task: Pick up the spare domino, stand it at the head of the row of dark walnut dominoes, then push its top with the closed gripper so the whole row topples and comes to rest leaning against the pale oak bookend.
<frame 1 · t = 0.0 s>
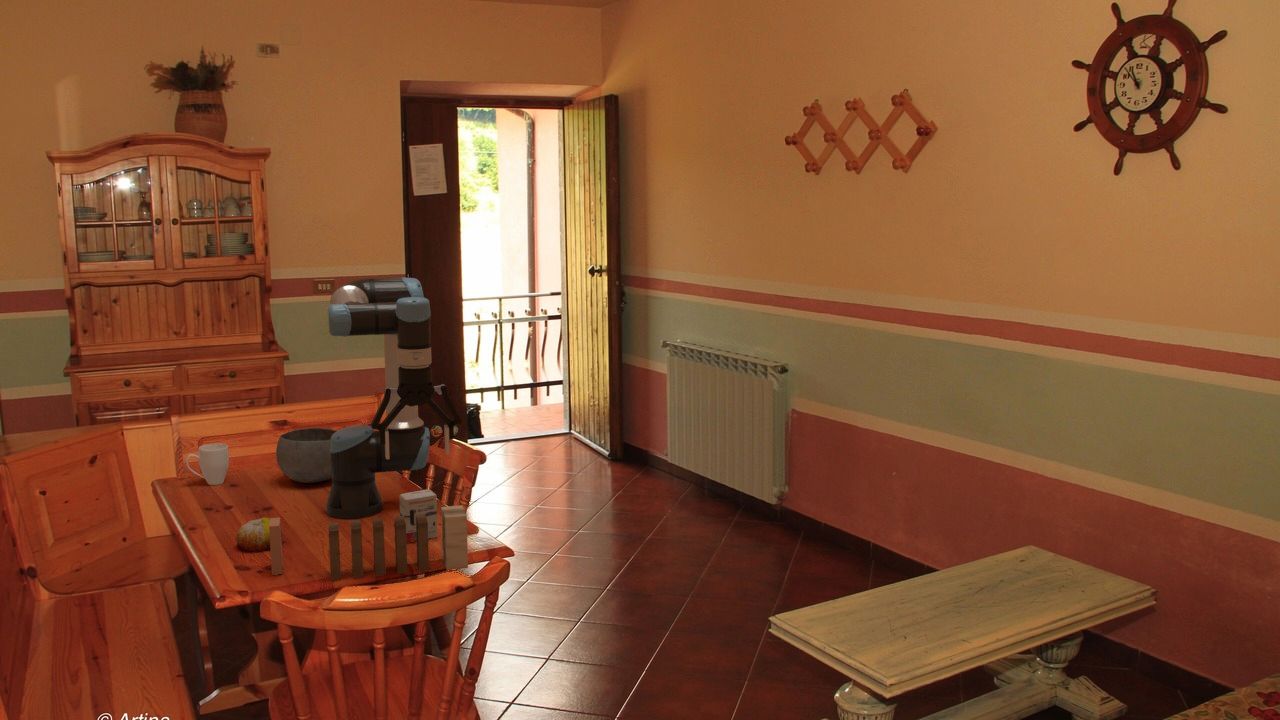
hand: (417, 455, 230), 28 cm above the table, fingers open, 13 cm apart
ink box: (419, 538, 256), on the table
bowl: (313, 481, 303), on the table
domino 5: (423, 566, 237), on the table
domino 3: (379, 570, 234), on the table
mug: (209, 484, 299), on the table
domino 2: (357, 573, 232), on the table
spare domino: (277, 570, 233), on the table
domino 4: (401, 568, 235), on the table
domino 1: (335, 575, 231), on the table
fruit: (259, 546, 250), on the table
bookend block: (455, 562, 239), on the table
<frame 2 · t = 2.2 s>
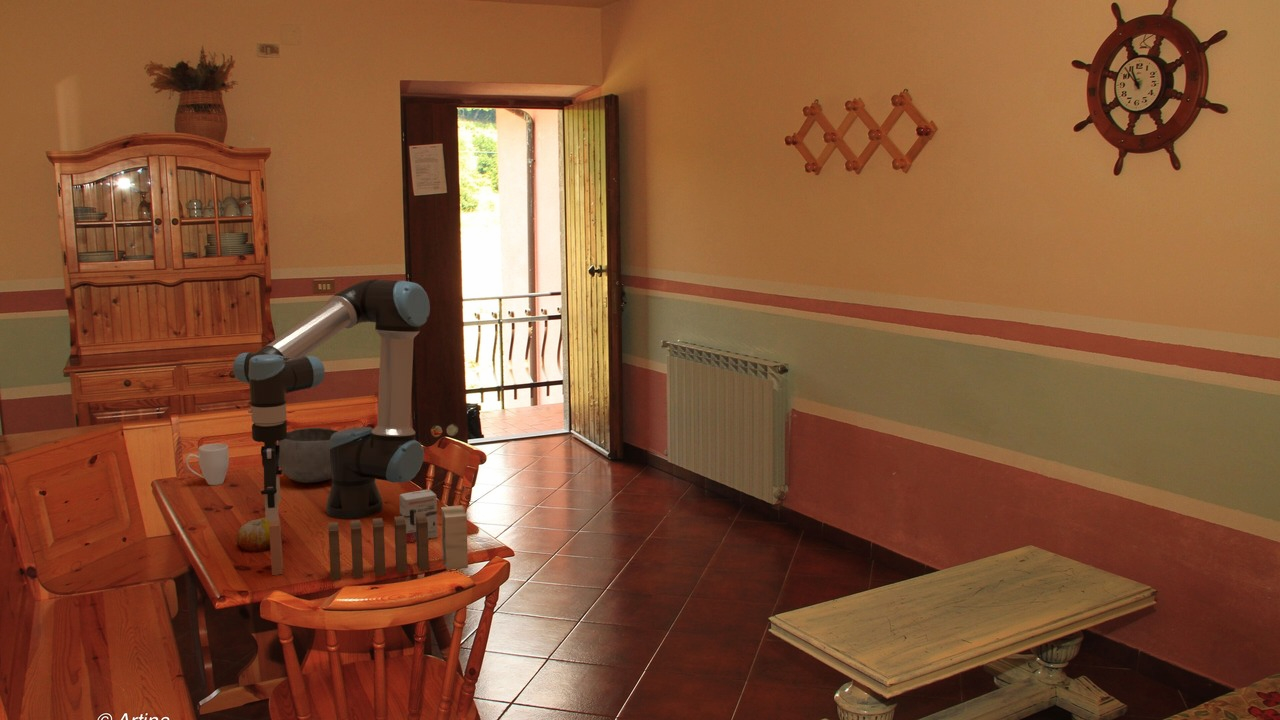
hand: (273, 511, 231), 15 cm above the table, fingers open, 13 cm apart
nothing on the table moved.
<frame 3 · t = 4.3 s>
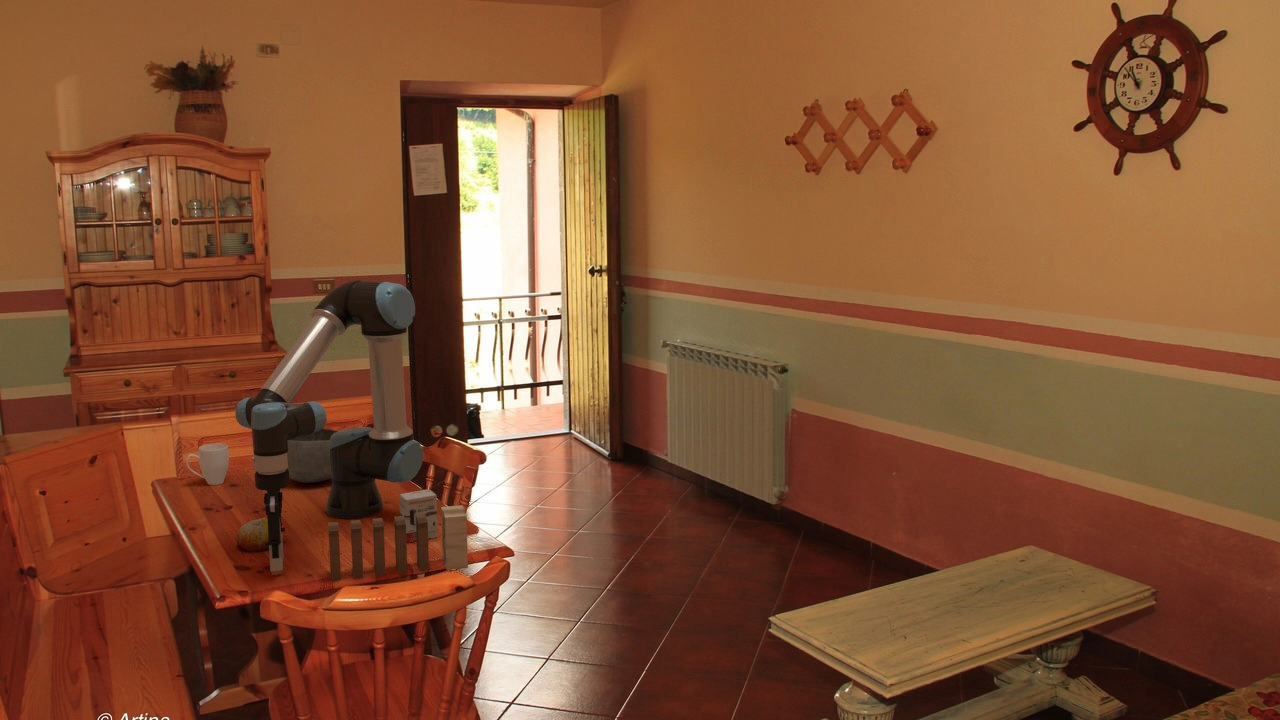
hand: (277, 564, 233), 1 cm above the table, fingers closed on spare domino, 6 cm apart
spare domino: (277, 570, 233), on the table, touching gripper
everything else where it was.
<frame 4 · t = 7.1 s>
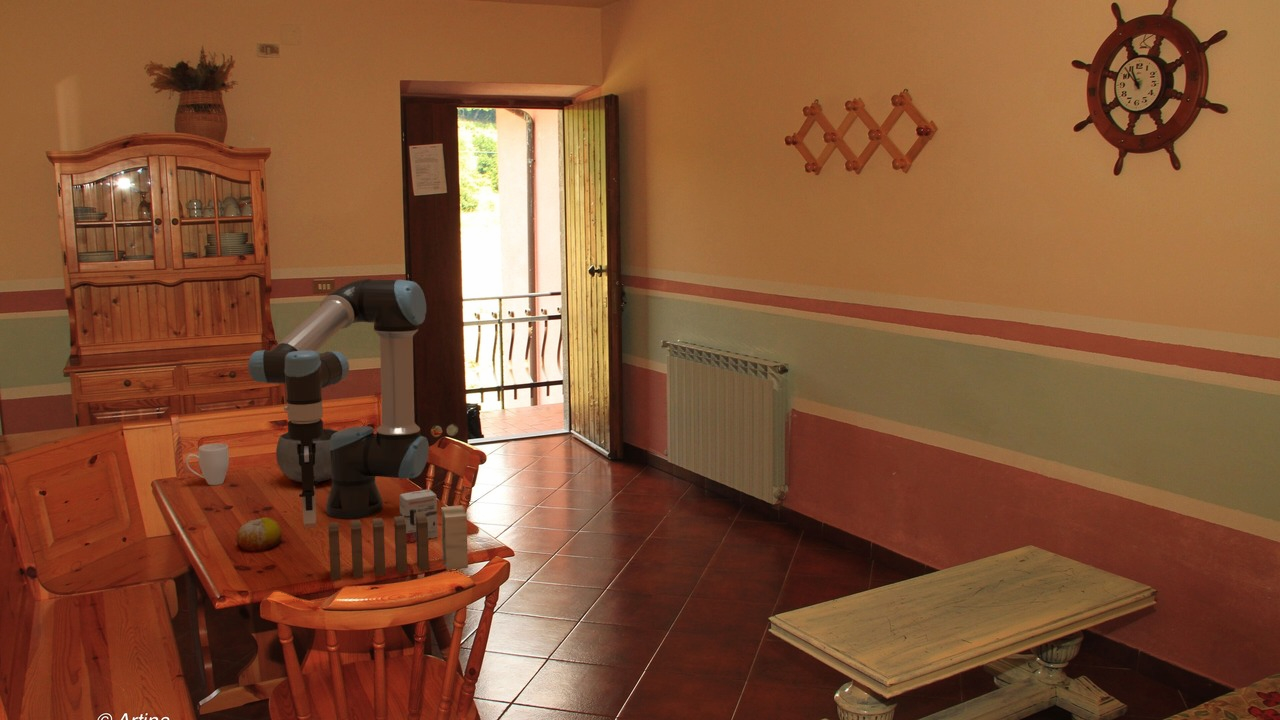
hand: (309, 518, 227), 14 cm above the table, fingers closed on spare domino, 6 cm apart
spare domino: (310, 524, 227), point 13 cm above the table, touching gripper
everything else where it was.
when the fingers open (2 cm above the table, at t = 9.8 s): spare domino stays where it is, on the table.
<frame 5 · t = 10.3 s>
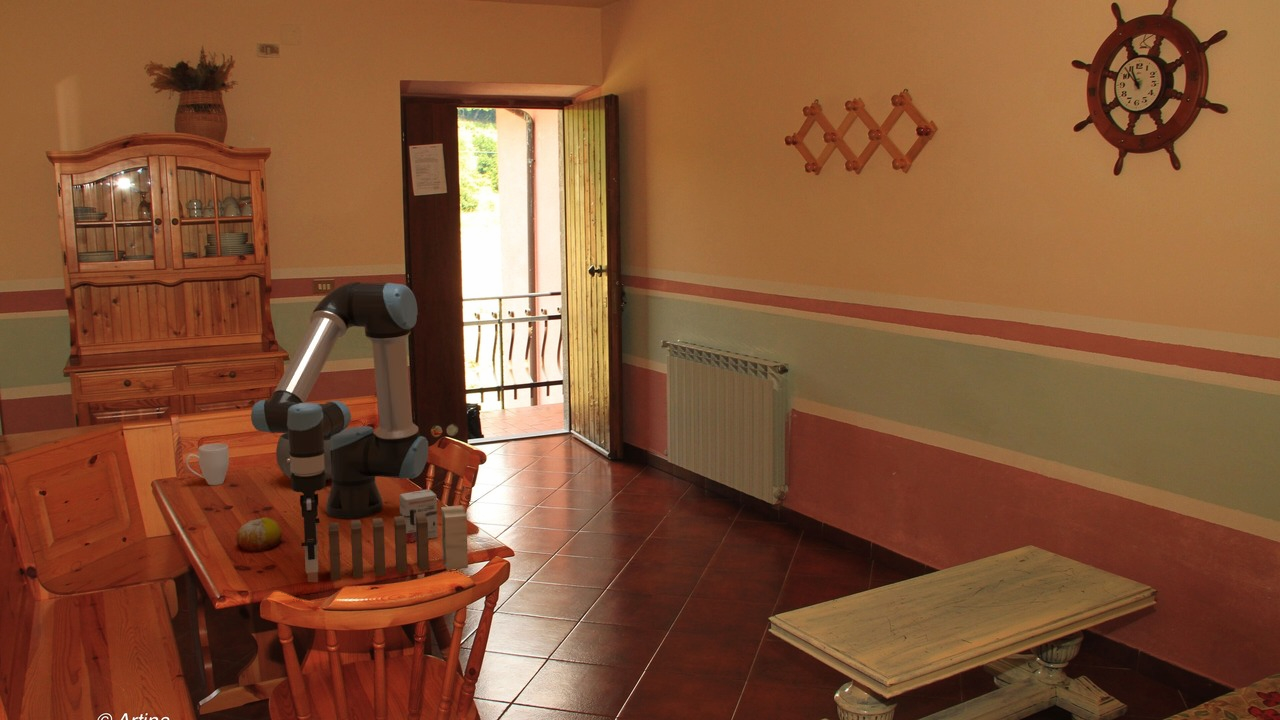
hand: (312, 561, 228), 4 cm above the table, fingers open, 12 cm apart
spare domino: (313, 577, 229), on the table
everything else where it was.
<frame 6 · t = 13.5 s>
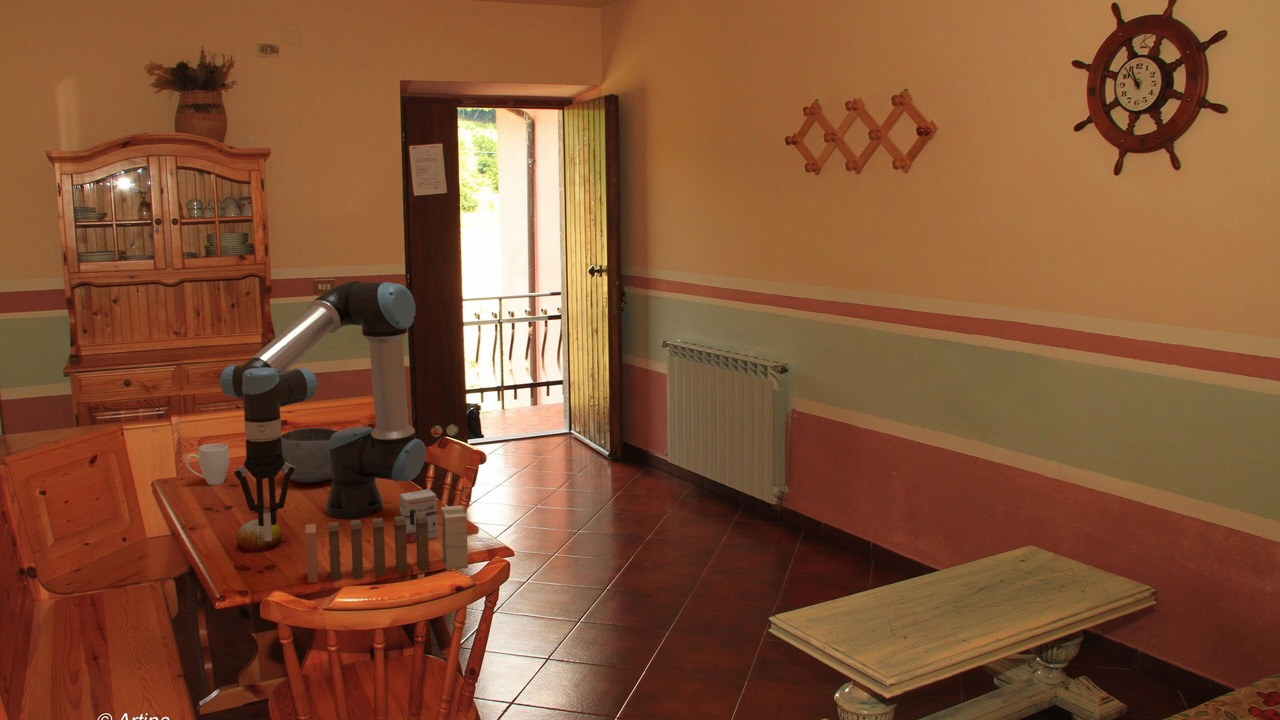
hand: (268, 538, 224), 11 cm above the table, fingers closed
nothing on the table moved.
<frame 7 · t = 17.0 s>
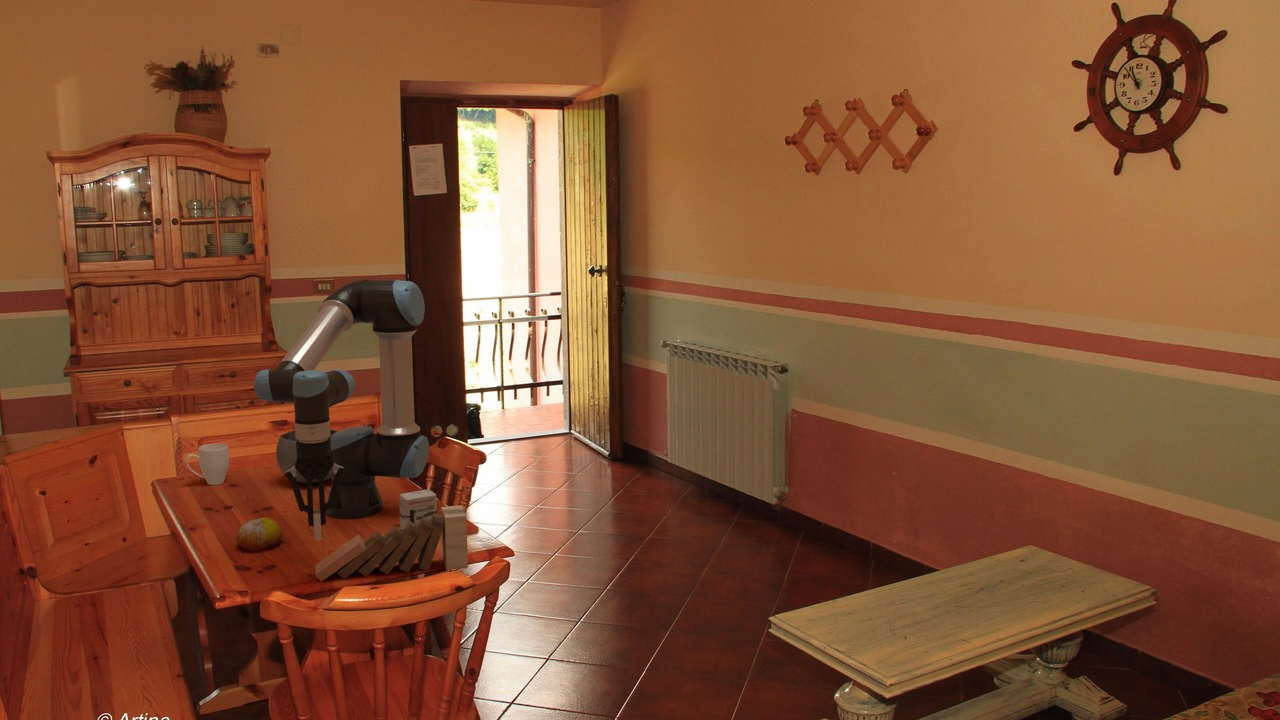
hand: (318, 538, 228), 9 cm above the table, fingers closed
domino 5: (423, 564, 237), on the table, tilted 20°, touching bookend block, domino 4
domino 3: (382, 567, 234), point 1 cm above the table, tilted 40°, touching domino 2, domino 4
domino 2: (361, 569, 232), point 1 cm above the table, tilted 47°, touching domino 1, domino 3
spare domino: (318, 573, 229), point 1 cm above the table, tilted 56°, touching domino 1
domino 4: (402, 566, 235), point 1 cm above the table, tilted 31°, touching domino 3, domino 5
domino 1: (340, 571, 231), point 1 cm above the table, tilted 52°, touching domino 2, spare domino
everything else where it was.
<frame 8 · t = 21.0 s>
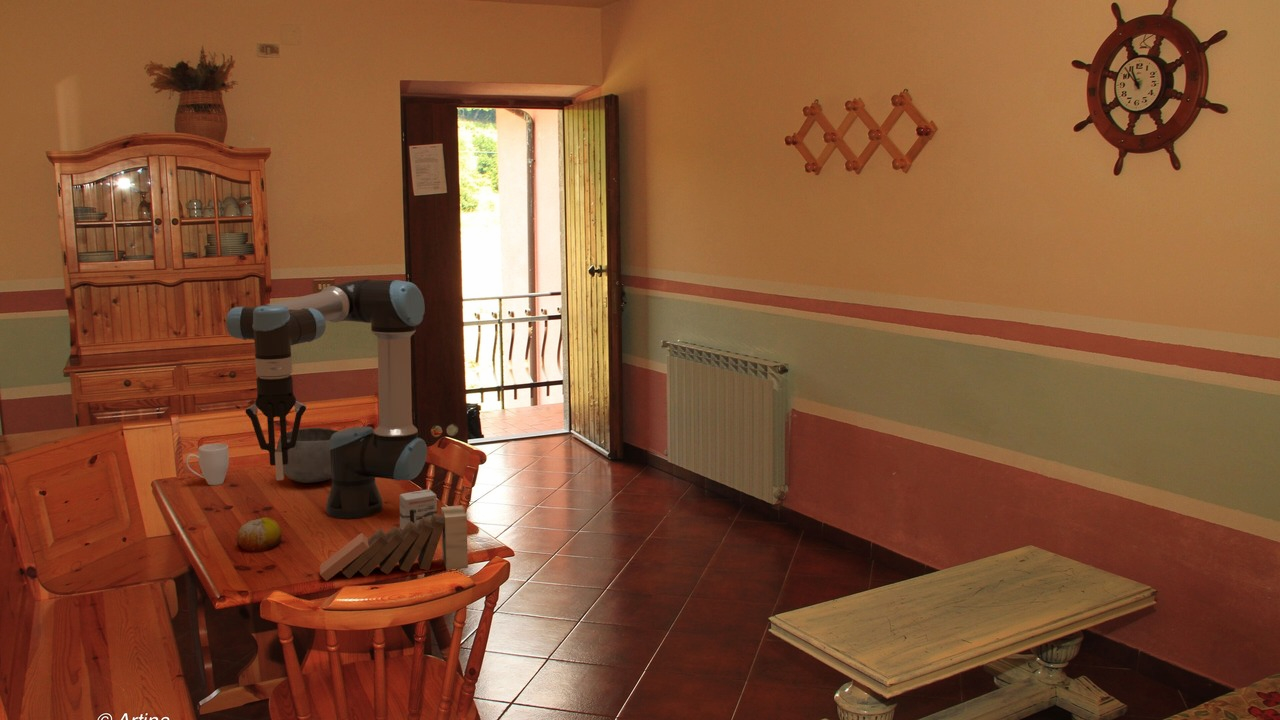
hand: (280, 478, 223), 24 cm above the table, fingers closed
spare domino: (323, 573, 230), point 1 cm above the table, tilted 54°, touching domino 1
domino 1: (345, 571, 231), point 1 cm above the table, tilted 49°, touching domino 2, spare domino
everything else where it was.
at the end: domino 5 tilted 20°; spare domino inside the target area (1.2 cm from its centre), point 0.9 cm above the table; the gripper is holding nothing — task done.
